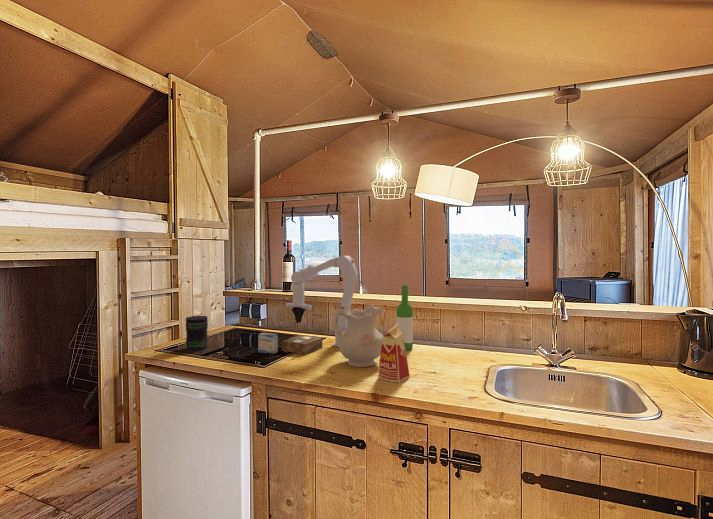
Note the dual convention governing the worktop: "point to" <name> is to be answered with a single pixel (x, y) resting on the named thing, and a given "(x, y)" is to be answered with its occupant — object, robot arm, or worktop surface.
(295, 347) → the socket block
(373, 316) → the ceramic pitcher
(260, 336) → the medicine box
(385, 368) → the milk carton
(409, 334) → the wine bottle
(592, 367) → the worktop surface
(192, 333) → the storage jar
